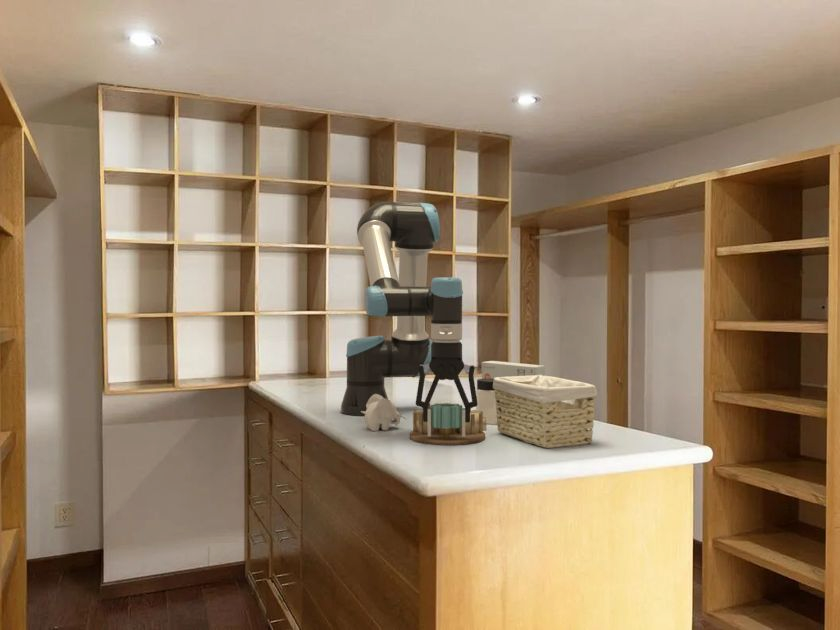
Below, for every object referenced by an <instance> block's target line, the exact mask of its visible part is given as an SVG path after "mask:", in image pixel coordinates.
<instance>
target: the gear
mask: <svg viewBox="0 0 840 630" xmlns="http://www.w3.org/2000/svg"><path fill="white" fill-rule="evenodd" d="M430 408H431V426H434V428H444V429H448V428H459V427H460V426H462V408H463V405H462V404H460V403H451V402H450V403H449V402H445V403H438V402H437V403H434V404H430Z"/></svg>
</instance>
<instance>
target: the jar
mask: <svg viewBox="0 0 840 630" xmlns="http://www.w3.org/2000/svg"><path fill="white" fill-rule="evenodd" d="M493 380H494V378H485V379H482V378H478V379H477V380H476V396H477V406H476V409H475V410H476V411H482V412H483V417H486V425H498V424H497V416H496V415H497V414H496V399H495V393H494V389H493Z"/></svg>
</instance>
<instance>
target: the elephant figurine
mask: <svg viewBox="0 0 840 630" xmlns="http://www.w3.org/2000/svg"><path fill="white" fill-rule="evenodd" d="M366 407H367V410H366V412H365V411H361V412H362V413H364V414H365V415H364V423H365V426H366V427H367V428H368V429H370V431H371V432H378V431H379V429H380V428H381V430H382V431H388V430H389V428H390V424H393V425H395V426H398V425H399V424H400V422H401V418H402V419H403V420H406V418H405V417H404V416H403V415H401V414H400V413H399V411H398V409H397V407H396V405H395V404H394V403H392V401H391V400H390V399H389V398H388V399H386V398H383V397H382V396H381V395H378V394H374V395H372V396H371V397H370V399H369V400H368V402H367V404H366Z"/></svg>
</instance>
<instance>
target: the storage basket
mask: <svg viewBox="0 0 840 630" xmlns="http://www.w3.org/2000/svg"><path fill="white" fill-rule="evenodd" d="M493 389H494V393H495V399H496V414H497V415H496V416H497V424H496V425H497V431H498V432H499V433H501V434H503V435H506V436H510V437H511V438H515V439H518V440H521V441H523V442H524V443H525V442H526V443H527V444H531V445H533V444H534V445H536V446H538V447H541V448H544V449H545V448H546V449H553V448H554V449H555V448H562V447H573V446H574V447H575V446H579V445H580V446H583V445H587V444H591V443H592V442H593V434H594V431H593V428H594V419H595V406H596V405H595V403H596V397H598V392H597V391H598V390H597V387H596V386H595V384H592V383H591V384H590V383H587V382H583V381H577V380H571V379H568V378H567V379H566V378H561V377H557V376H550V375H549V376H548V375H545V376H542V375H532V376H511V377H496V378H494V380H493Z"/></svg>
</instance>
